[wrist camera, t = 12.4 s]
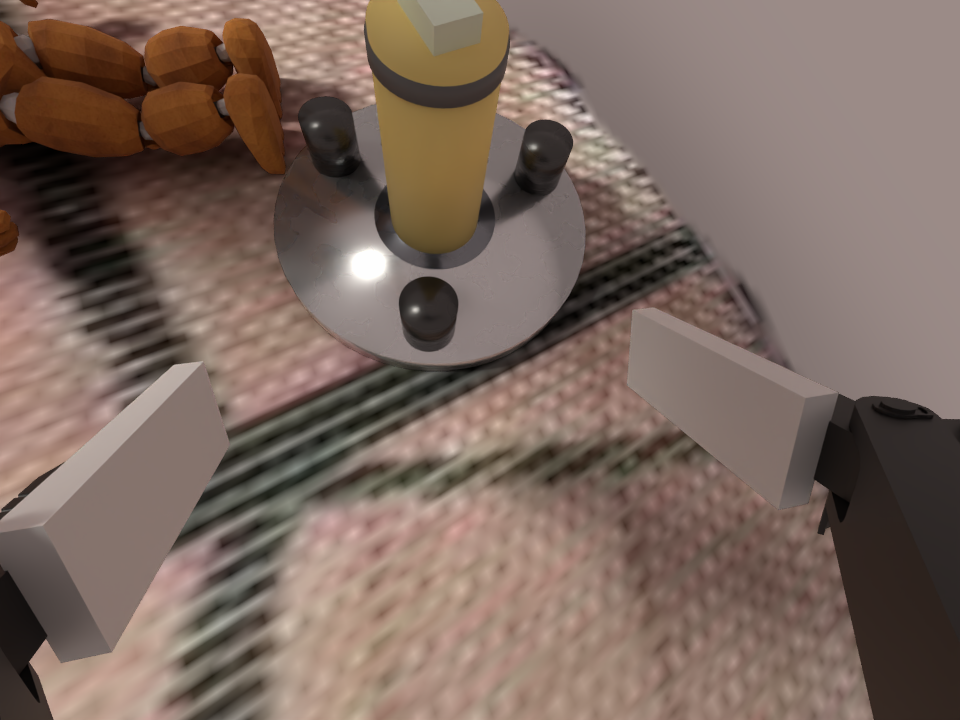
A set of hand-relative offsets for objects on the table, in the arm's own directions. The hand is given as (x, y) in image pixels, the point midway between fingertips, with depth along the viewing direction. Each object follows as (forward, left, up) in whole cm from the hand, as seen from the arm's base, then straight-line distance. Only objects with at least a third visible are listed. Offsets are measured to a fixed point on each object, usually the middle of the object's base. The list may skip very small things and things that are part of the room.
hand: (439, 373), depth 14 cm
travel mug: (-11, +5, -9) cm, 15 cm away
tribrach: (-11, +6, -10) cm, 16 cm away
